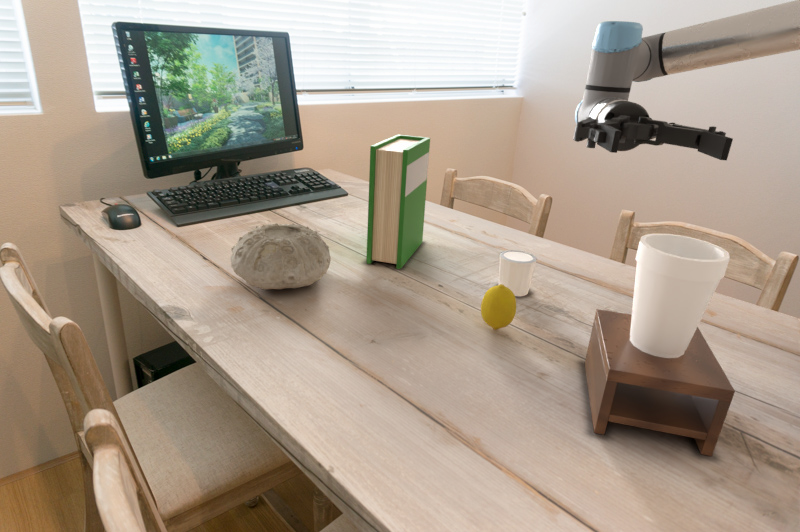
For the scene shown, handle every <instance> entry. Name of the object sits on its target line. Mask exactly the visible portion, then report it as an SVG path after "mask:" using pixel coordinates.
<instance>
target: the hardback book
mask: <svg viewBox="0 0 800 532" xmlns="http://www.w3.org/2000/svg"><path fill="white" fill-rule="evenodd" d="M430 146H431V137H425V136H418V135H408V134H406V135H405V134H395V135H392V136H391V137H388V138H386V139H383V140H381V141H379V142H377V143H374V144H372V145H370V146H369V147H370V148H369V150H370V151H369V174H368V175H369V176H368V203H367V205H368V207H367V210H368V211H367V235H366V261H365V264H368V265H371V264H372V263H374V261H376V262H382V263H388V264H394V265H396V267H395V269H397V270H401V269H402V268H403V267H404V266H405V264H406V263H407V262H408V261H409V260H410V258H411V257H412V256H413V255H414V253H415V252H416V251H417V249H418V248H420V246H421V245H422V243H423V239H424V225H425V213H426V212H425V211H426V200H427V199H426V198H427V185H428V173H429V160H430V148H431V147H430Z"/></svg>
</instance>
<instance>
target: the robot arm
mask: <svg viewBox="0 0 800 532" xmlns="http://www.w3.org/2000/svg"><path fill="white" fill-rule="evenodd" d="M643 31H644V27H643V24H642V23H640V22H637V21H636V22H635V21H625V20H624V21H622V20H606V21H602V22H599V24H598V25H597V27H596V29H595V34H594V38H593V41H592V43H591V52H590V58H589V65H588V71H587V77H586V84H585V87H584V90H583V91H584V92H583V97H582V100H580V102H579V103H578V104H577V106H576V109H575V113H574V122H575V126H574V127H575V128H574V133H573V141H574V142H577V143H580V142H583V141H585V140H586V145H585V147H586V148H588V149H596V145H597V146H599V147H601V148H602V149H604V150H606V151H608V152H609V153H615V154H616V153H618V152H627V151H631V150H634V149H636V148H637V147H639V146H640V145H650V146H663V145H664V144H665V145H671V146H676V147H682V148H688V149H694V150H697V152H698V153H701V154H703V155H706V156H709V157H711V158H714V159H717V160H720V161H728V157H729V154H730V151H731V147H732V144H733V141H734V140H733V139H734V138H733V137H729V136H726V134H727V132H725V131H722V130H719V131H717V126H715V125H712V126H708V129H706V128H700V127H694V126H688V125H683V124H679V123H676V122H668V121H665V120H658V119H657V120H656V119H652V117H650V115H649V112H648V111H647V110H646V108H645V107H644V106H642V105H641V104H639V103H637V102H633V101H629V97H630V93H631V90H632V84H633V82H634V83H641V82H642V83H643V82H647V81H650V80H653V79H656V78H661V77H664V76H665V77H666V76H669V75H675V74H679V73H685V72H691V71H696V70H701V69H706V68H707V69H708V68H711V67H712V68H713V67H717V66H722V65H727V64H732V63H737V62H742V61H748V60H755V59H758V58H765V57H769V56H775V55H779V54H784V53H785V54H786V53H790V52H795V51H796V52H797V51H800V0H790V1H788V2H784V3H780V4H779V3H778V4H775V5H771V6H766V7H762V8H759V9H758V8H757V9H755V10H750V11H747V12H743V13H739V14H735V15H730V16H726V17H721V18H718V19H714V20H710V21H705V22H702V23H698V24H693V25H689V26H685V27H681V28H678V29H677V28H676V29H673V30H669V31H664V32H661V33H656V34H652V35H647V36H645V37H644V36H643ZM654 139H655V140H654Z"/></svg>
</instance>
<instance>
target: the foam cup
mask: <svg viewBox="0 0 800 532" xmlns="http://www.w3.org/2000/svg"><path fill="white" fill-rule="evenodd" d="M730 258H731V257H730V252H728V251H727V250H726V249H724V248H723V247H721V246H720V245H716V244H714V243H712V242H709V241H707V240H704V239H699V238H695V237H691V236H687V235H680V234H672V233H648V234H644V235H641V236H640V238H639V243H638V247H637V251H636V254H635V261H636V264H635V265H636V267H635V276H634V288H633V297H632V309H631V315H632V318H631V328H630V341H631V343H632V344H633V346H635V347H636V348H638V349H640V350H641V351H643V352H645V353H648V354H651V355H653V356H658V357H663V358H678V357H680V356H682V355H684V352H685V350H686V349H687V347H688V345H689V343H690V341H691V339H692V337H693V335H694V333H695V331H696V329H697V327H698V328H699V324H700V323H701V321H702V318H703V316H704V315H705V313H706V310H707V308H708V307H709V305H710V302H711V301H712V298H713V296H714V294H715V292H716V289H717V288H718V287H719V284H720V281H721V279H724V278H725V275H726V272H727V268H728V265H729V263H730V260H731V259H730Z"/></svg>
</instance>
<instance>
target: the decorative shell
mask: <svg viewBox="0 0 800 532" xmlns="http://www.w3.org/2000/svg"><path fill="white" fill-rule="evenodd" d="M329 248H330V247H329V245H328V244H327V243H326V241H325V240H324V239H323V238H322V236H321V235H320V234H319V233H318V231H317V230H313V229H311V228H310V227H309V226H305V225H303V224H298V223H297V224H296V223H289V224H287V223H284V224H281V223H279V224H278V223H269V224H263V225H261V226H255V228H253V229H251V230H250V231H248V232H247V233H246V234H244V235H242V236H240V237H238V241H237V242H236V244H235V245H233V246H232V247H231V254H230V257H229V259H230V267H231V268H232V270H233V272H234V273H235V275H237V276H239V277H240V278H242V279H243V280H244V281H245V282H246V284H248V285H249V286H251V287H254V288H255V287H256V288H258V289H261V290H267V291H268V290H283V289H298V288H302V287H308V286H311V285H312V284H314V283H315V282H318V281H320V280H321V278H323V277H324V275H326V274H327V272H328V270H329V268H330V264H331V261H332V258H331V254H330V249H329Z"/></svg>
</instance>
